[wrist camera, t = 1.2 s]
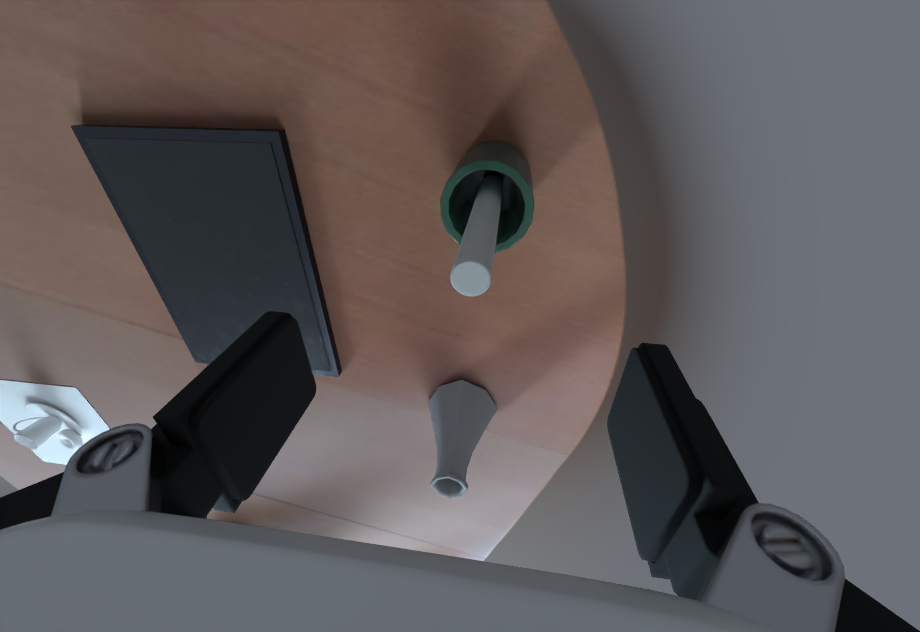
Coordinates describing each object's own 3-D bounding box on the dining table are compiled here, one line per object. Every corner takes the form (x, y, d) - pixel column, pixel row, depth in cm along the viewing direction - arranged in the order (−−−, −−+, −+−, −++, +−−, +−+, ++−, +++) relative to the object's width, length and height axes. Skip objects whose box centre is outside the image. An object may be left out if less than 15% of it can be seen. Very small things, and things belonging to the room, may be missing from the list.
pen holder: (457, 139, 26) (439, 158, 20) (534, 141, 25) (539, 162, 19) (456, 214, 29) (441, 250, 23) (526, 217, 28) (528, 255, 22)
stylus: (482, 169, 26) (449, 259, 14) (504, 170, 26) (492, 262, 14) (481, 192, 27) (450, 295, 15) (502, 193, 27) (489, 298, 15)
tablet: (81, 124, 29) (68, 126, 28) (284, 129, 27) (277, 131, 26) (201, 357, 42) (194, 363, 41) (342, 371, 40) (338, 377, 39)
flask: (463, 433, 43) (450, 517, 35) (417, 399, 41) (392, 481, 33) (509, 406, 40) (506, 494, 32) (461, 368, 38) (446, 451, 29)
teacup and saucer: (98, 442, 56) (72, 466, 53) (54, 437, 57) (25, 460, 54) (63, 403, 51) (32, 426, 48) (15, 397, 52) (-20, 420, 49)
